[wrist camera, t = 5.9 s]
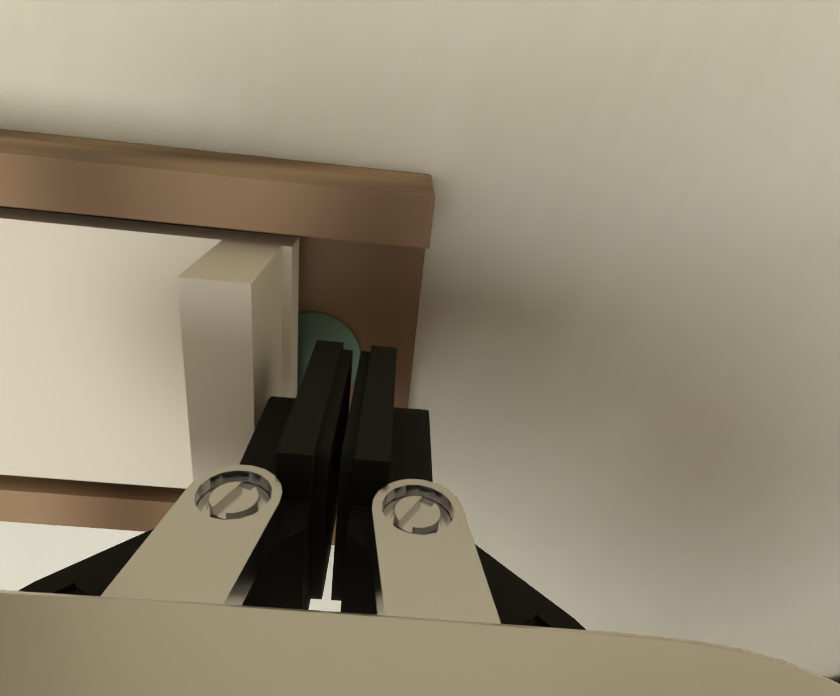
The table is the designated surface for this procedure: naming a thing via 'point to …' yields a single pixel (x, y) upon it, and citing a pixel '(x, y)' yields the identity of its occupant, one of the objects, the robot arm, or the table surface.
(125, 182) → the board
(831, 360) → the table surface
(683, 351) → the table surface
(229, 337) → the lid
